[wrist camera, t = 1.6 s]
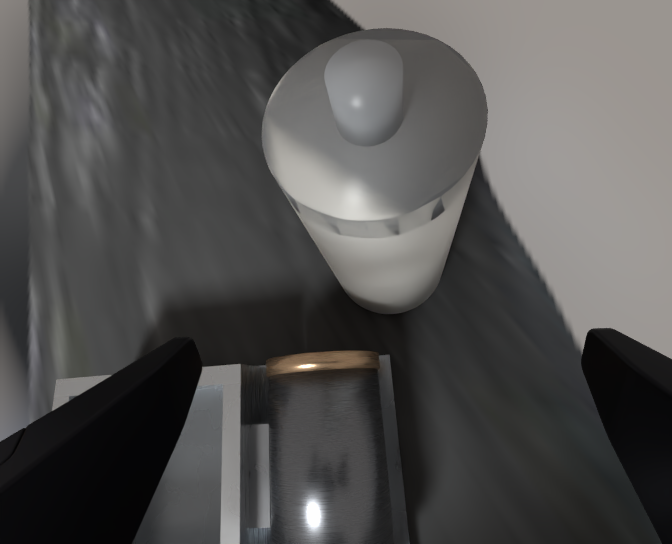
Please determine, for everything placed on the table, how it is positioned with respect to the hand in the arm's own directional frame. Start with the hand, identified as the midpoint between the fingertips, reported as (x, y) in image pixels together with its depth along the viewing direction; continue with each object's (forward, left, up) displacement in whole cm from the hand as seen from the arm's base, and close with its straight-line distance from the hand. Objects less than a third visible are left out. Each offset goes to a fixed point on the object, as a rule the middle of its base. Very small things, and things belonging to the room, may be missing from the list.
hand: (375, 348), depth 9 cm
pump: (+6, 0, -12) cm, 14 cm away
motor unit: (-4, +8, -12) cm, 15 cm away
